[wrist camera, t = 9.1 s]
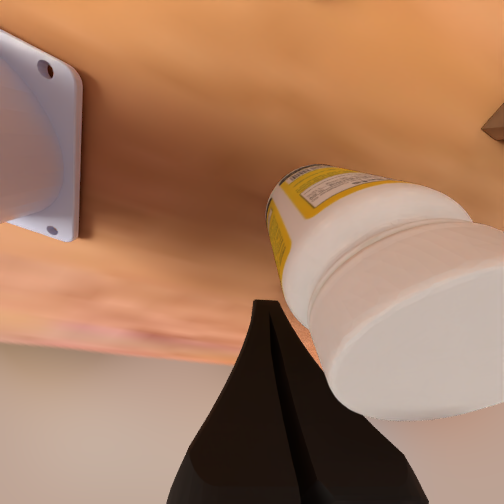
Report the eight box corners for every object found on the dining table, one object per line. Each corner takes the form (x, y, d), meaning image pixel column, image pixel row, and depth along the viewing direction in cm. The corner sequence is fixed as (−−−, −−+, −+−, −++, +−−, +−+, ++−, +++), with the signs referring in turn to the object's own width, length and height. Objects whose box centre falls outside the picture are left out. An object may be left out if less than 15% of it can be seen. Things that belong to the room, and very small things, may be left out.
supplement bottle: (310, 262, 12) (409, 447, 5) (248, 223, 11) (246, 395, 3) (372, 197, 10) (708, 338, 3) (305, 140, 9) (604, 109, 1)
